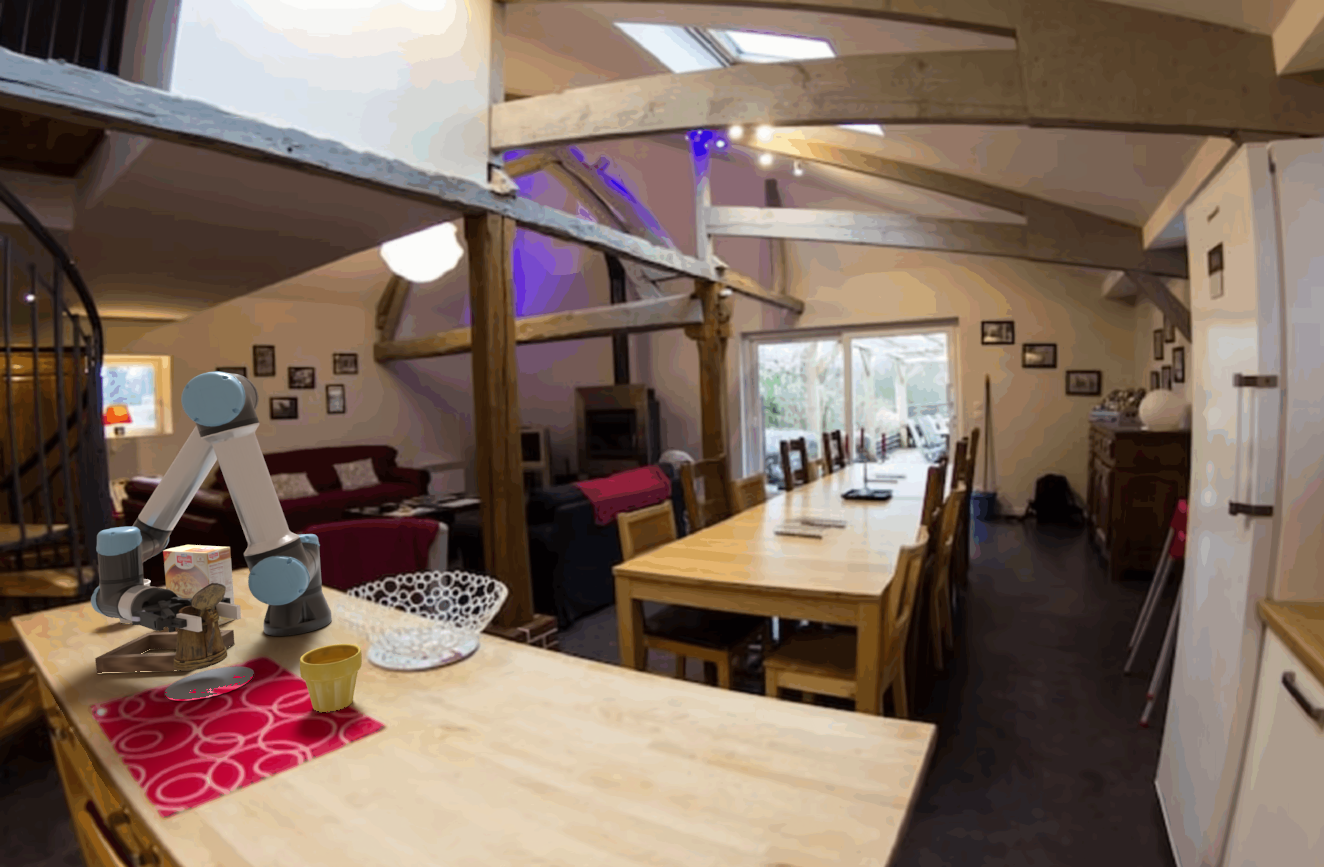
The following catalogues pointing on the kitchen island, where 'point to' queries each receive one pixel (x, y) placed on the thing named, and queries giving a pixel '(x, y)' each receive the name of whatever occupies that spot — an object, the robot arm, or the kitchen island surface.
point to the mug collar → (133, 660)
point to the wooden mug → (201, 632)
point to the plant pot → (331, 675)
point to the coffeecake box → (198, 570)
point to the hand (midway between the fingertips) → (219, 618)
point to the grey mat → (207, 682)
